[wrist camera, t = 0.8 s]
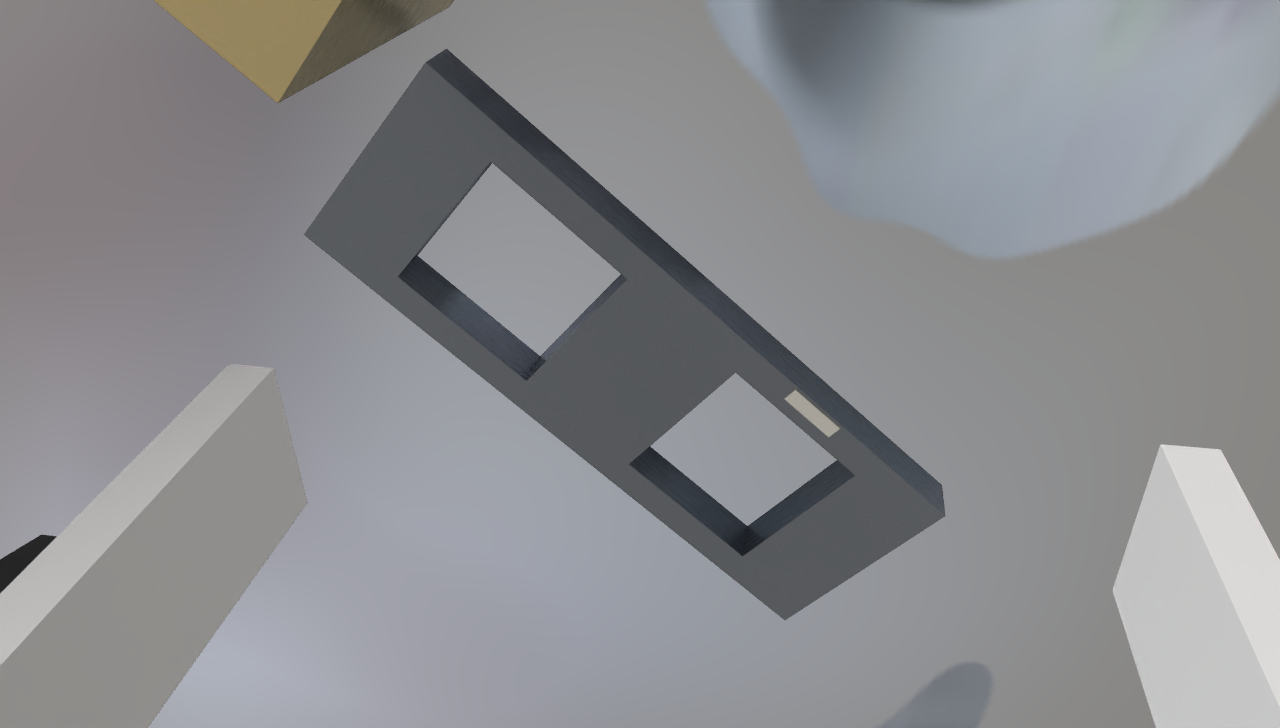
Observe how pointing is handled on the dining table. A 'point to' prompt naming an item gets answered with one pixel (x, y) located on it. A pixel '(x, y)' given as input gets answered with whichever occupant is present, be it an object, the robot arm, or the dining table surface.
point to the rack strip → (619, 344)
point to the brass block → (297, 34)
